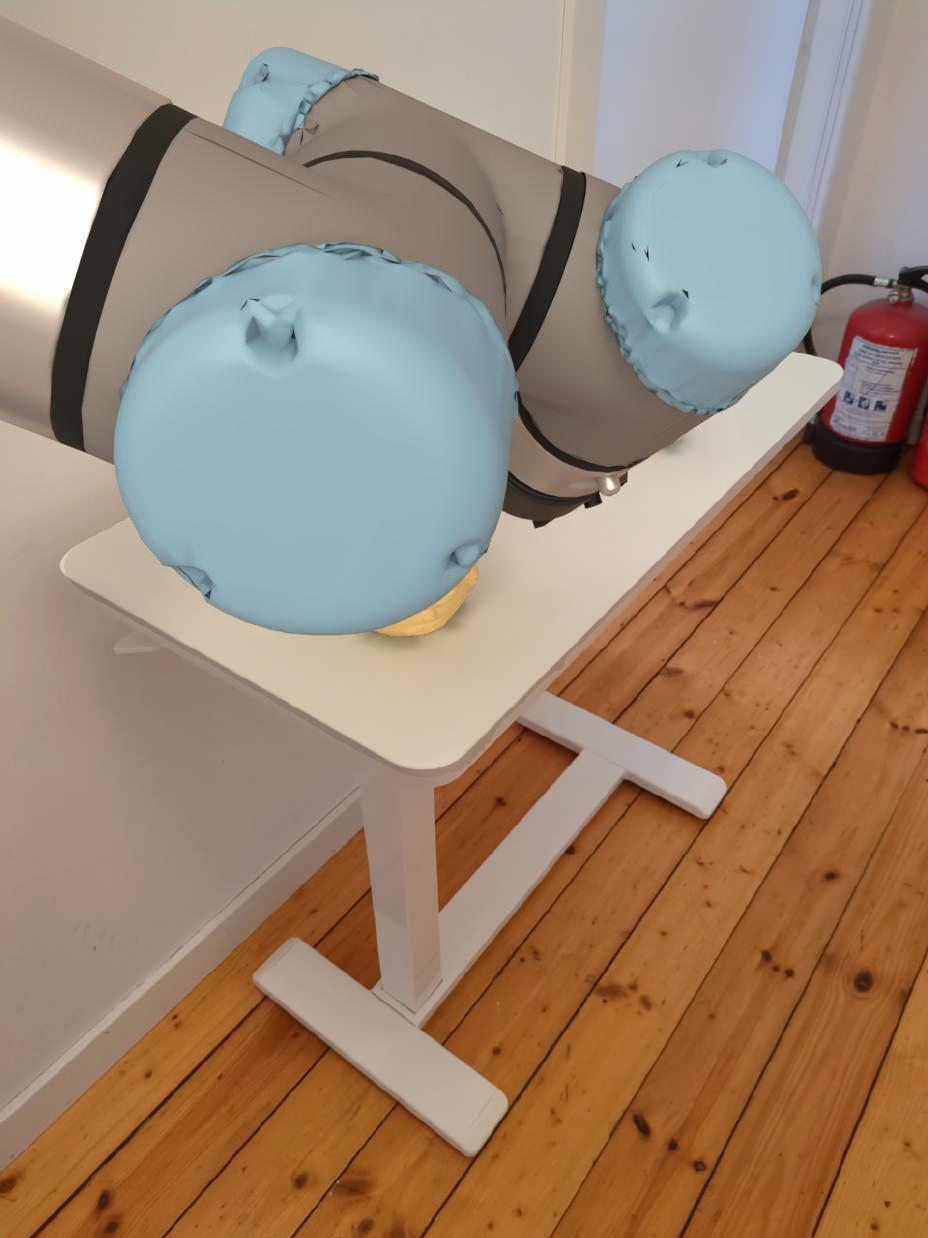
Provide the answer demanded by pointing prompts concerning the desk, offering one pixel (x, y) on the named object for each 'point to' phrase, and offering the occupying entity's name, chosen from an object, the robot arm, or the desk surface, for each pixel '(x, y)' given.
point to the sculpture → (434, 611)
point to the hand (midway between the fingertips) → (445, 533)
